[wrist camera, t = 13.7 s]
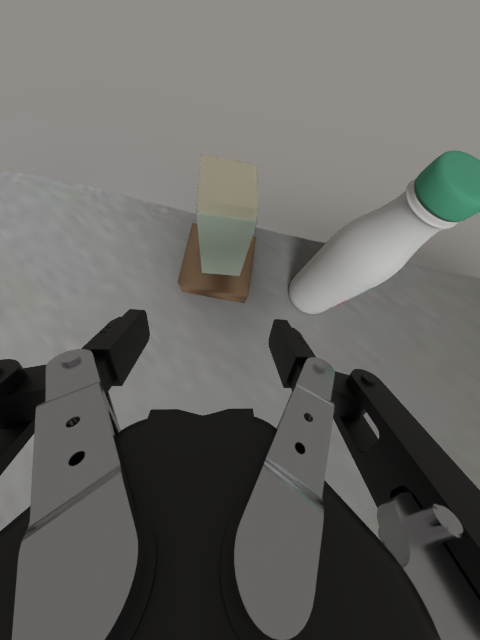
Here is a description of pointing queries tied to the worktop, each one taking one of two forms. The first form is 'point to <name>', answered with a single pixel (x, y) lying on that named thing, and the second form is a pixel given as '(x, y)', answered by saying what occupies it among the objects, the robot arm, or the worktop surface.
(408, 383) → the worktop surface
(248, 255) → the walnut box
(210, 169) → the tea tin
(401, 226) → the milk bottle
